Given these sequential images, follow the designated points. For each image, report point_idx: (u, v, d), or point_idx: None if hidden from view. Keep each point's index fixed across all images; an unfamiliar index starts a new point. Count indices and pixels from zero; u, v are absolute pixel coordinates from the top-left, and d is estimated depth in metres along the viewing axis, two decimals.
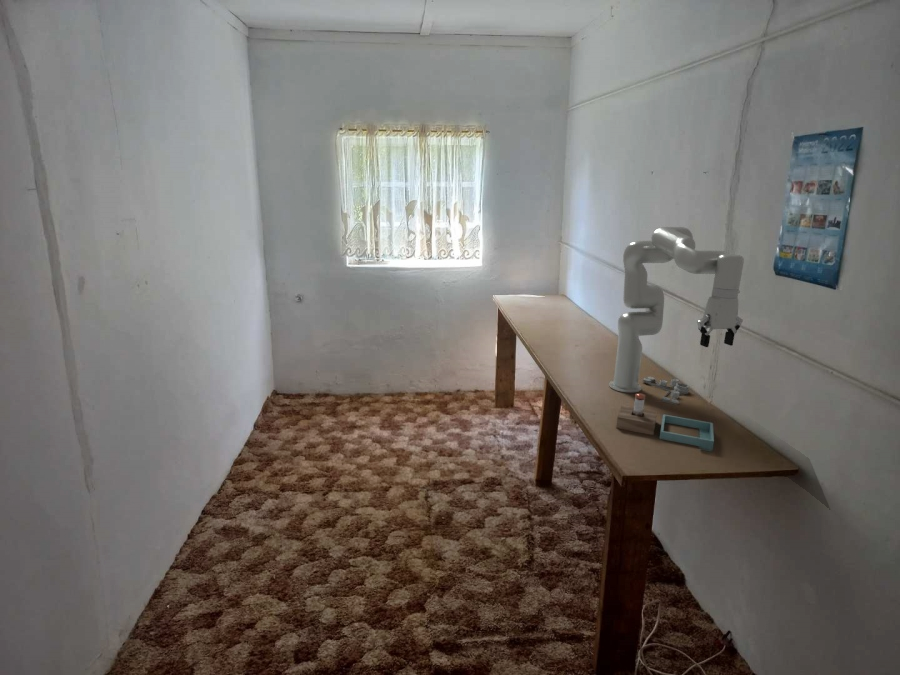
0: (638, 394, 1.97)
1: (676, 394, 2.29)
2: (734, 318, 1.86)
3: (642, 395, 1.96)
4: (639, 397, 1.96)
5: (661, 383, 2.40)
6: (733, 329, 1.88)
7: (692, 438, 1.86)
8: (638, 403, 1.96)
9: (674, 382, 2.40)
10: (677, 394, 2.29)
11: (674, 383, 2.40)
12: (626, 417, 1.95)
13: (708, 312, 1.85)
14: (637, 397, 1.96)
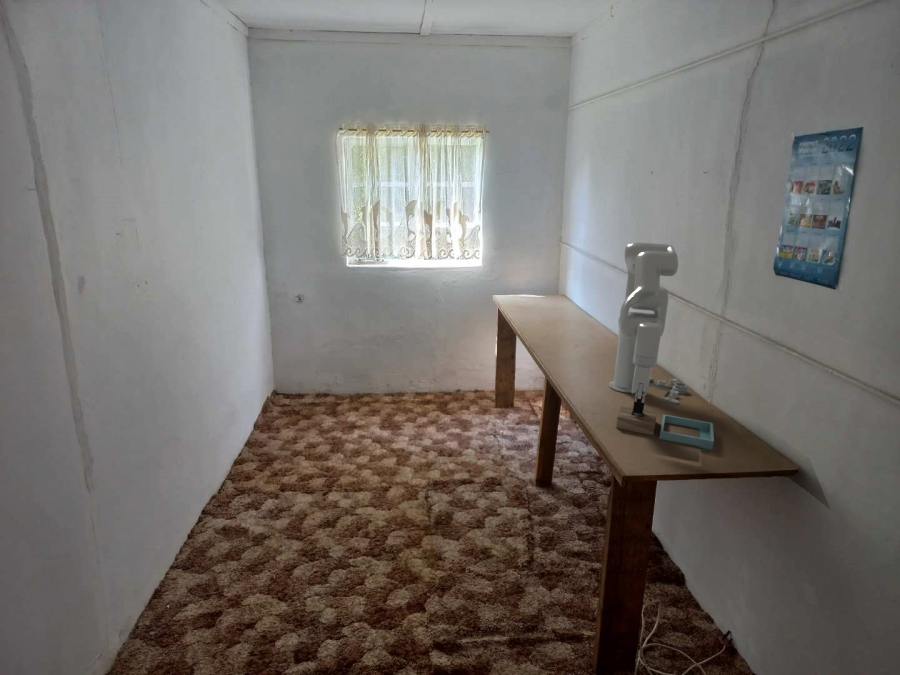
0: None
1: (675, 394, 2.29)
2: None
3: None
4: None
5: (659, 383, 2.40)
6: None
7: (692, 438, 1.86)
8: None
9: (672, 382, 2.40)
10: (676, 394, 2.29)
11: (672, 383, 2.40)
12: (626, 417, 1.95)
13: (640, 381, 1.91)
14: None
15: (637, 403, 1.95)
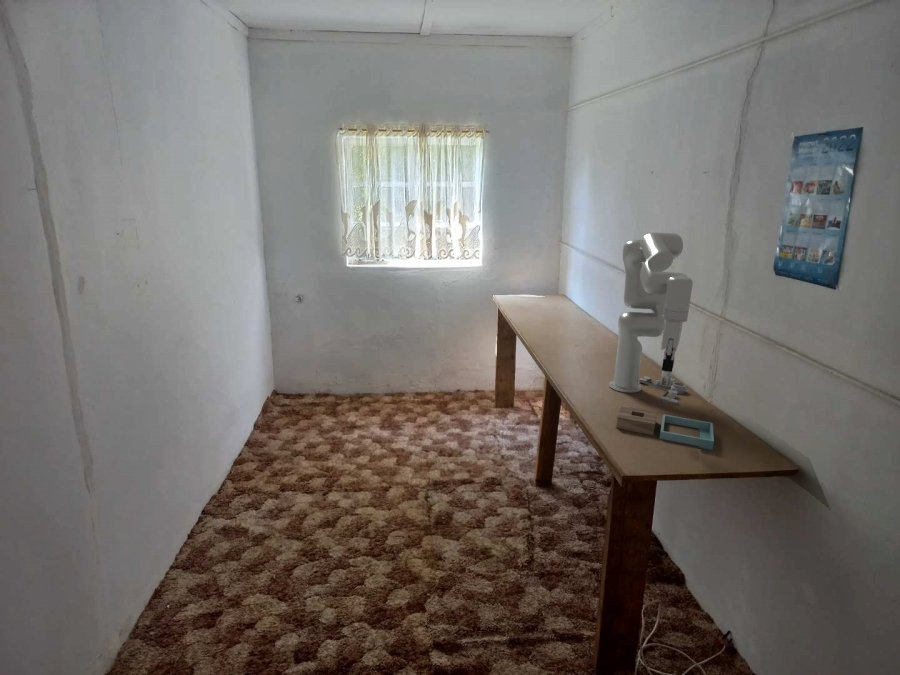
0: None
1: (674, 393, 2.29)
2: None
3: None
4: None
5: (658, 382, 2.41)
6: None
7: (692, 438, 1.86)
8: None
9: (670, 381, 2.40)
10: (675, 393, 2.29)
11: (670, 382, 2.40)
12: (626, 417, 1.95)
13: (670, 336, 1.84)
14: None
15: (666, 360, 1.88)
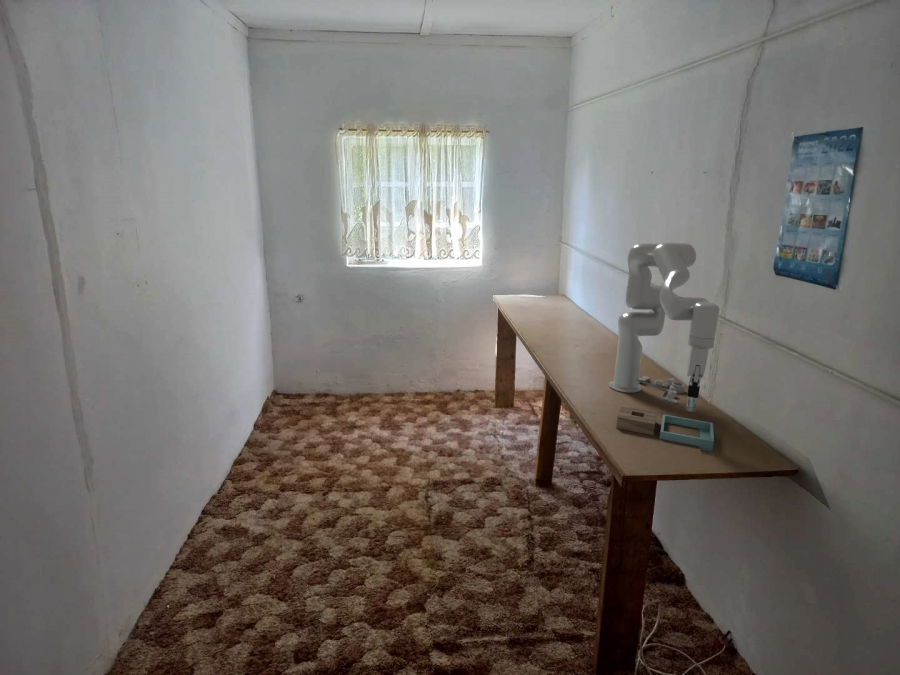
0: None
1: (673, 393, 2.29)
2: None
3: None
4: None
5: (657, 382, 2.41)
6: None
7: (692, 438, 1.86)
8: None
9: (669, 381, 2.40)
10: (674, 393, 2.29)
11: (669, 382, 2.40)
12: (626, 417, 1.95)
13: (697, 363, 1.83)
14: None
15: (693, 387, 1.87)
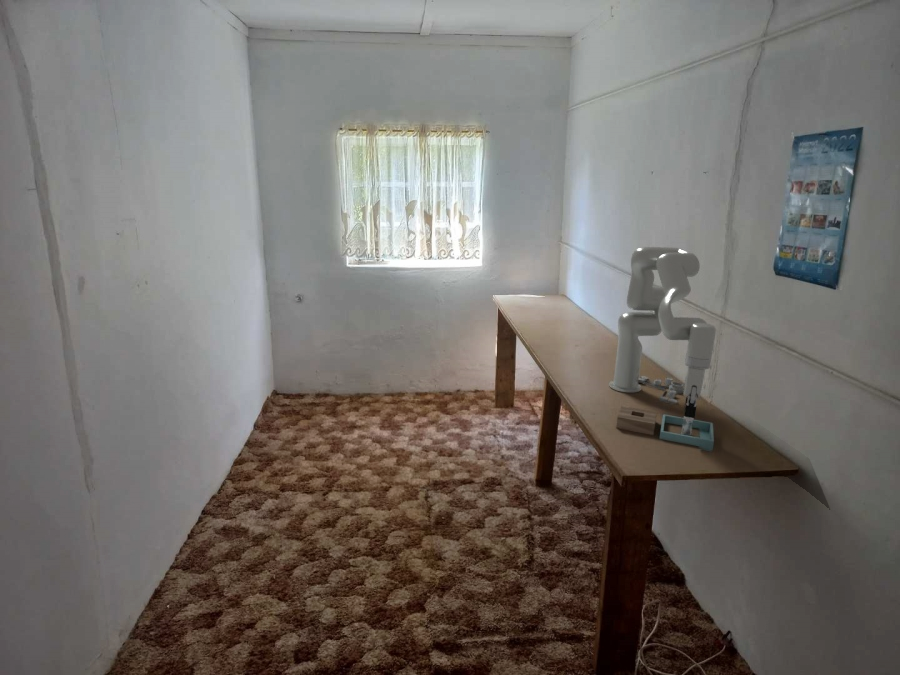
0: None
1: (673, 393, 2.29)
2: None
3: None
4: None
5: (656, 382, 2.41)
6: (696, 394, 1.93)
7: (692, 438, 1.86)
8: None
9: (668, 381, 2.40)
10: (674, 393, 2.30)
11: (668, 382, 2.40)
12: (626, 417, 1.95)
13: (693, 383, 1.85)
14: None
15: (689, 407, 1.87)
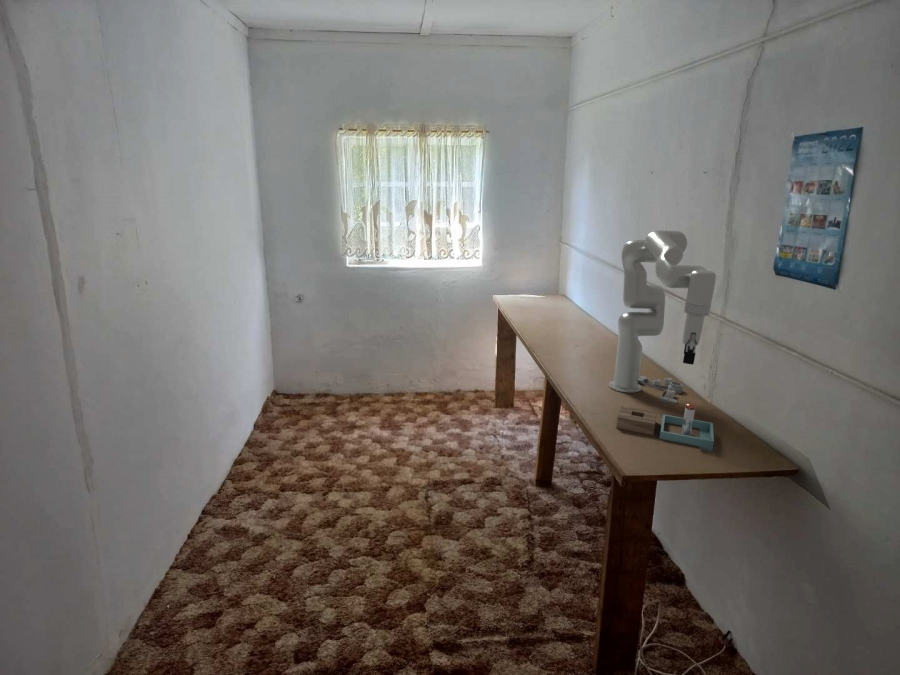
0: (688, 404, 1.92)
1: (672, 393, 2.30)
2: None
3: (693, 405, 1.91)
4: (690, 407, 1.90)
5: (655, 382, 2.41)
6: None
7: (692, 438, 1.86)
8: (689, 413, 1.91)
9: (667, 381, 2.40)
10: (673, 393, 2.30)
11: (667, 382, 2.41)
12: (626, 417, 1.95)
13: (693, 330, 1.84)
14: (688, 407, 1.91)
15: (688, 353, 1.86)
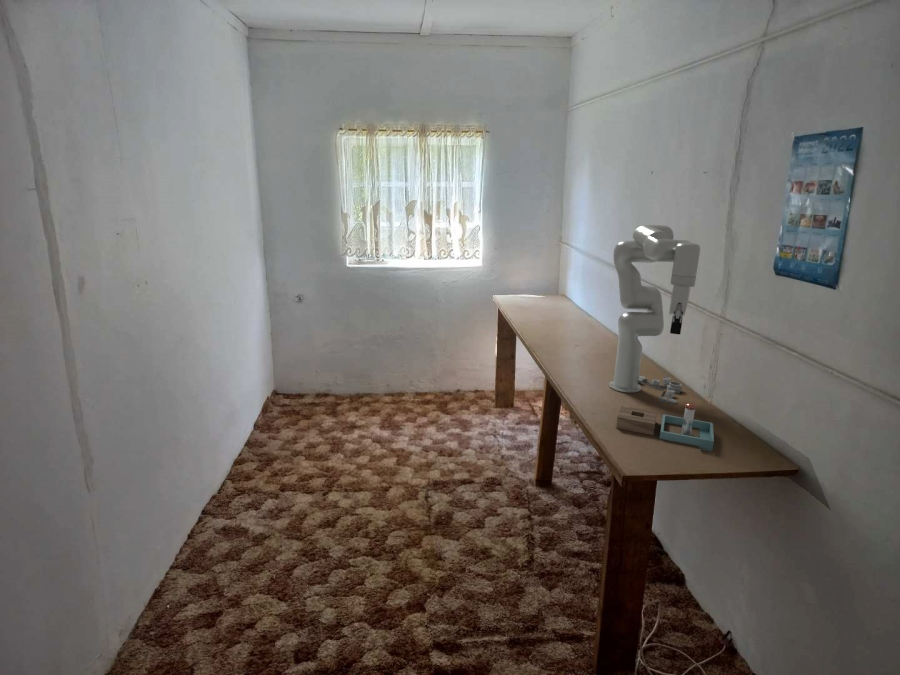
0: (688, 404, 1.92)
1: (672, 393, 2.30)
2: None
3: (693, 405, 1.91)
4: (690, 407, 1.90)
5: (654, 382, 2.41)
6: None
7: (692, 438, 1.86)
8: (689, 413, 1.91)
9: (666, 381, 2.41)
10: (673, 393, 2.30)
11: (666, 382, 2.41)
12: (626, 417, 1.95)
13: (679, 301, 1.90)
14: (688, 407, 1.91)
15: (675, 323, 1.91)
